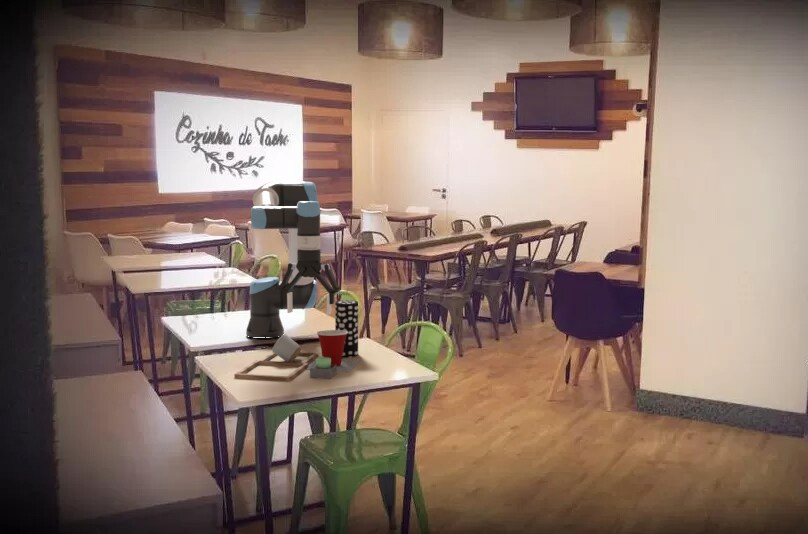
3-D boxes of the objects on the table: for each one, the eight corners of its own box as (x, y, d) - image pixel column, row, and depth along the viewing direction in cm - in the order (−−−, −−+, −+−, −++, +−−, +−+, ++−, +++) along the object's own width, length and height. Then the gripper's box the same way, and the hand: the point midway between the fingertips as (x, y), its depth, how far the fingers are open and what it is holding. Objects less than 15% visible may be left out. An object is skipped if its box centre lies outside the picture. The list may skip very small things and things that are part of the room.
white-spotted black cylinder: (332, 354, 290) (332, 301, 288) (354, 352, 293) (354, 299, 291) (339, 359, 283) (339, 304, 280) (361, 357, 286) (361, 303, 283)
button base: (316, 373, 264) (316, 363, 263) (336, 374, 263) (336, 364, 262) (309, 378, 257) (309, 368, 257) (330, 379, 256) (330, 369, 255)
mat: (317, 359, 283) (317, 358, 283) (360, 361, 280) (360, 360, 280) (303, 370, 267) (303, 369, 267) (348, 373, 264) (348, 371, 264)
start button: (318, 363, 262) (318, 356, 262) (332, 364, 261) (332, 357, 261) (313, 367, 257) (313, 360, 257) (328, 368, 256) (328, 361, 256)
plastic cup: (347, 360, 279) (347, 327, 278) (348, 368, 269) (348, 334, 267) (317, 361, 278) (316, 327, 277) (316, 369, 268) (316, 334, 266)
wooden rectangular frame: (272, 354, 290) (272, 350, 289) (321, 357, 286) (321, 353, 286) (234, 378, 256) (234, 374, 256) (289, 382, 253) (289, 377, 253)
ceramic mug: (287, 368, 276) (293, 354, 272) (269, 354, 278) (274, 340, 273) (304, 351, 285) (310, 338, 280) (286, 339, 286) (291, 325, 281)
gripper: (268, 248, 255) (269, 313, 257) (342, 250, 249) (342, 316, 252) (277, 246, 262) (278, 309, 264) (349, 248, 257) (349, 312, 259)
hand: (309, 313), depth 258 cm, fingers open, 13 cm apart
